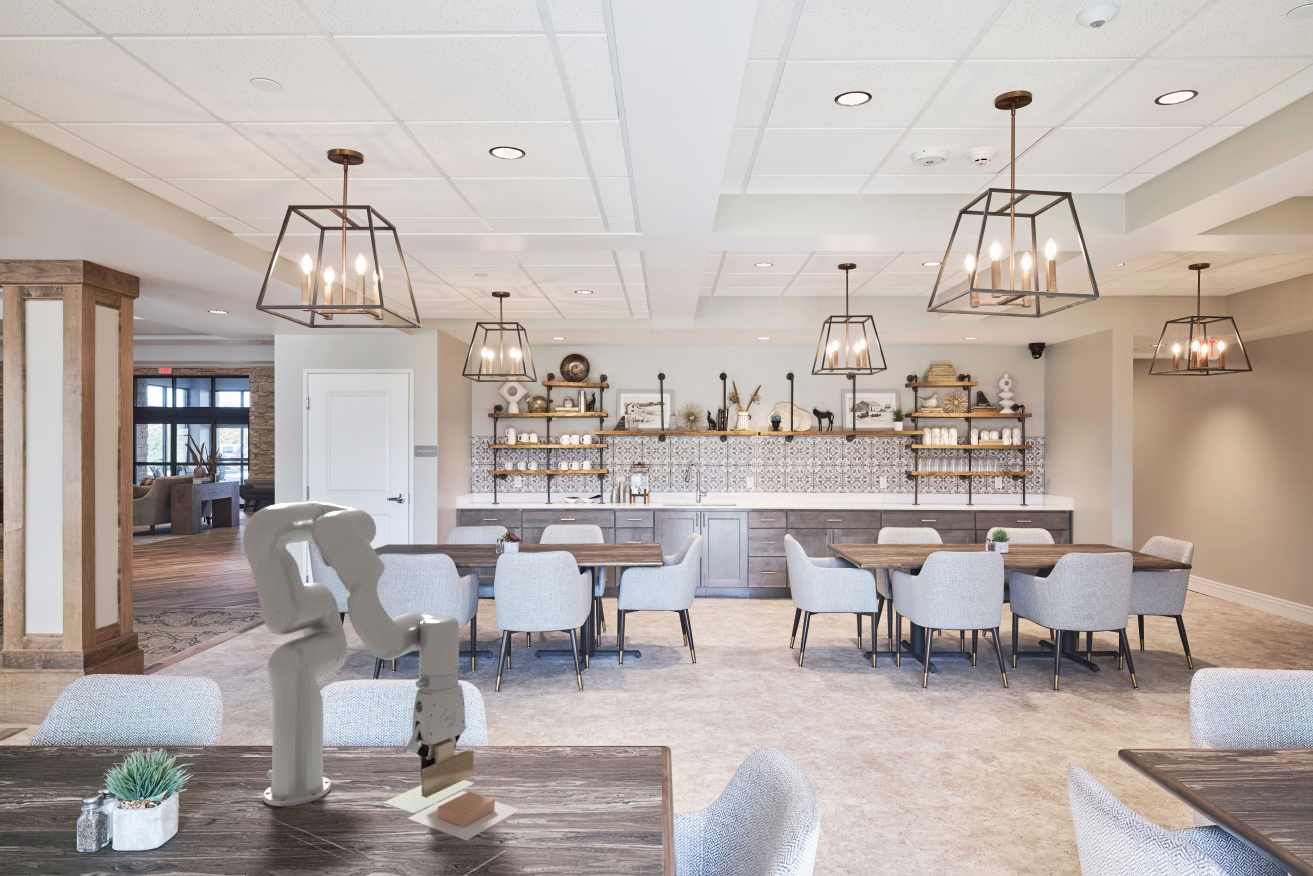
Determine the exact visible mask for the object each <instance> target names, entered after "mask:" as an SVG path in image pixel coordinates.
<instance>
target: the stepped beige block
mask: <svg viewBox="0 0 1313 876" xmlns="http://www.w3.org/2000/svg"><path fill="white" fill-rule="evenodd" d="M454 741H455V740H451V739H448V740H445V741H443V742H440V743H437V744H435V745H434V750H433V757H432V758H434V759H435V764H434V765H431V766H429V767H427V768H424V769H422V776H421V775H420V783H421V785H422V797H425V798H427V797H429V796H431V795H433V794H435V793H437V792H439V791H441V790H443V789H446V788H448V787H450V786H452V785H454V784H456V783H458V782H460V781H463V780H467V779H468V778H471V777H473V776H474V750H473V749H470V748H469V749H467V750H464V751H462V752H460V753H457V754H455V750H454ZM427 747H428V745H426V750H427Z"/></svg>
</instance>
